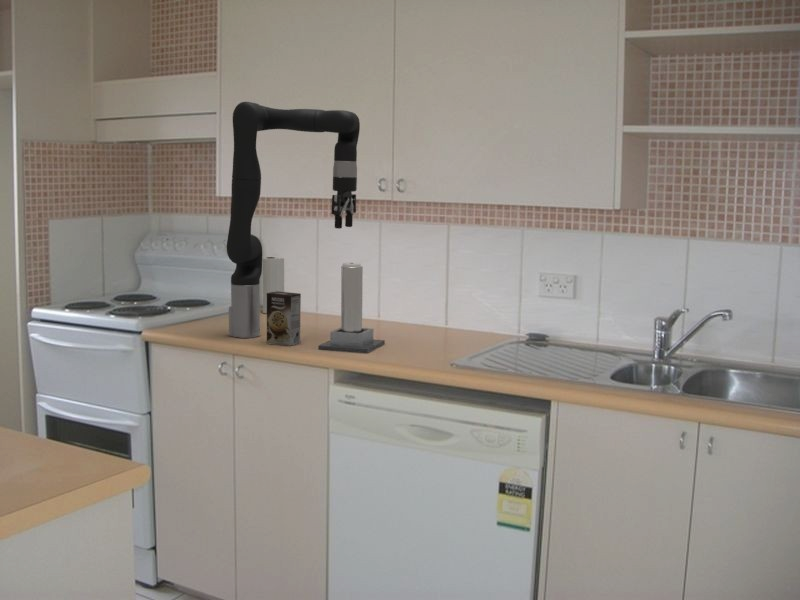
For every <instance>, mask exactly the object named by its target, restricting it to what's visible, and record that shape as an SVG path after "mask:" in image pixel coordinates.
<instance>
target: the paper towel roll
mask: <svg viewBox="0 0 800 600" xmlns="http://www.w3.org/2000/svg"><path fill="white" fill-rule="evenodd" d="M277 291H279V292H285V258H282V257H281V258H279V257H274V256H268V257H267V256H266V257H262V313H263V314H265V315H267V293H270V292H277Z"/></svg>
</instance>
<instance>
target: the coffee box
mask: <svg viewBox="0 0 800 600" xmlns="http://www.w3.org/2000/svg"><path fill="white" fill-rule="evenodd" d="M301 295H302V293H297V292H289V291H284V292H279V291H277V292H270V293H267V314H266V344H269V343H270V345H277V344H278V345H277V346H285V345H287V346H286V347H292V346H295V344H296V345H299V344H301V308H302V307H301V305H302V304H301V301H302V300H301V297H302V296H301ZM298 343H299V344H298ZM291 345H292V346H291Z"/></svg>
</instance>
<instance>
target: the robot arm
mask: <svg viewBox="0 0 800 600" xmlns="http://www.w3.org/2000/svg"><path fill="white" fill-rule="evenodd" d="M360 127H361V125H360V119H359V116H358V115H357V114H356V113H354V112H353V111H348V110H344V109H343V110H342V109H339V110H337V109H335V110H334V109H333V110H332V109H331V110H324V109H317V108H316V109H314V108H295V109H294V108H291V109H283V108H281V109H280V108H273V107H268V106H266V105H265V106H264V105H261V104H259V103H256V102H252V101H242V102H240V103H238V104H237V105H236V106H235V108H234V109H233V112H232V131H233V132H232V133H233V134H232V135H233V157H232V174H231V195H230V196H231V201H230V221H229V227H228V233H227V234H228V235H227V240H226V254H227V257H228V258H229V260H230V261H231V262H232V263H234V264H235V270H234V272H233V273H232V274H231V276H230V302H231V303H230V304H231V306H229V307H228V336H229V337H234V338H241V339H249V338H256V337H259V336H260V335H261V319H260V318H261V306H260V305H261V301H260V300H261V297H260V295H261V293H260V288H261V287H260V283H261V282H260V279H261V276H262V274H263V246H262V243H261V240H260V239H259V238H258V237H257V236H256V235H254V234H252V221H253V217H254V214H255V212H256V210H257V206H258V204H259V201H260V197H261V192H262V191H261V187H262V171H261V165H260V161H259V157H258V153H257V137H258V132H261V131H262V132H263V131H270V130H287V131H288V130H289V131H296V132H306V133H307V132H308V133H326V132H327V133H335V134H337V142H336V143H335V146H334V152H333V166H332V167H333V168H332V191H334V192H336V193H337V194H332V195H331V196H332V197H331V211H330V212H331V215H333V216H334V229H339V230H340V229H342V227H343V214H345V219H344V220H345V221H344V224H345V225H344V226H345V227H346V228H352V227H353V220H354V219H353V216H354V214H356V213H357V194H356V193H355V194H354V192H356V191H357V188H358V187H357V186H358V167H357V166H358V165H357V154H358V152H357V150H358V149H357V147H358V143H359V138H360V137H359V136H360ZM352 192H353V193H352Z"/></svg>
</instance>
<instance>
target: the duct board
mask: <svg viewBox="0 0 800 600" xmlns="http://www.w3.org/2000/svg"><path fill="white" fill-rule="evenodd" d="M329 332H330V333H329V337H330V339H329V340H328V341H325V342H323V343H321V344H318V346H317V350H319V351H321V350H322V351H333V352H334V351H335V352H343V353H345V352H347V353H359V354H369V353H371V352H373V351H375V350H377V349H378V348H380V347H382V346H384V345H385V340H384V339H374V328H371V327H370V328H368V327H362V332H361V333H349V332H341V327H339V328H336V329H334V330H332V331H329Z"/></svg>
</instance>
